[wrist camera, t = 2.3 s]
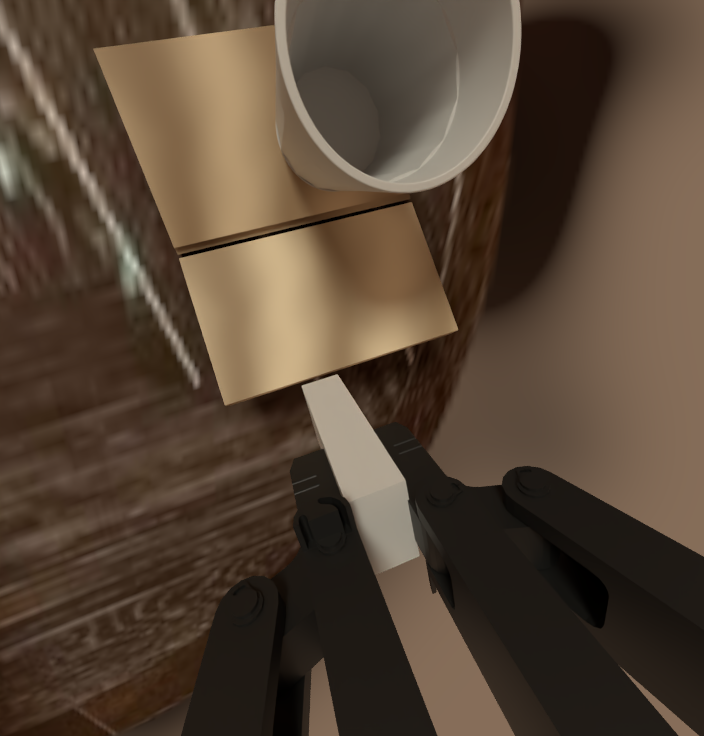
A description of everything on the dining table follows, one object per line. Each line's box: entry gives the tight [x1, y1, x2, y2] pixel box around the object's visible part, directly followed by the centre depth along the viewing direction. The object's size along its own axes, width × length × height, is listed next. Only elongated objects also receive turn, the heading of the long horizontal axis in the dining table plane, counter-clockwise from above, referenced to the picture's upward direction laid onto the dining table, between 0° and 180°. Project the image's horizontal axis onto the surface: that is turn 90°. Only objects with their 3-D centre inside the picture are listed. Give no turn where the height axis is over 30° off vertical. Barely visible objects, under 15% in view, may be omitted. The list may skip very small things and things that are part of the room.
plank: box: [179, 202, 458, 406], centre depth 22 cm, size 15×9×1 cm, turn 102°
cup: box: [275, 0, 521, 193], centre depth 16 cm, size 8×8×12 cm
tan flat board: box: [94, 25, 410, 255], centre depth 20 cm, size 15×9×1 cm, turn 102°
